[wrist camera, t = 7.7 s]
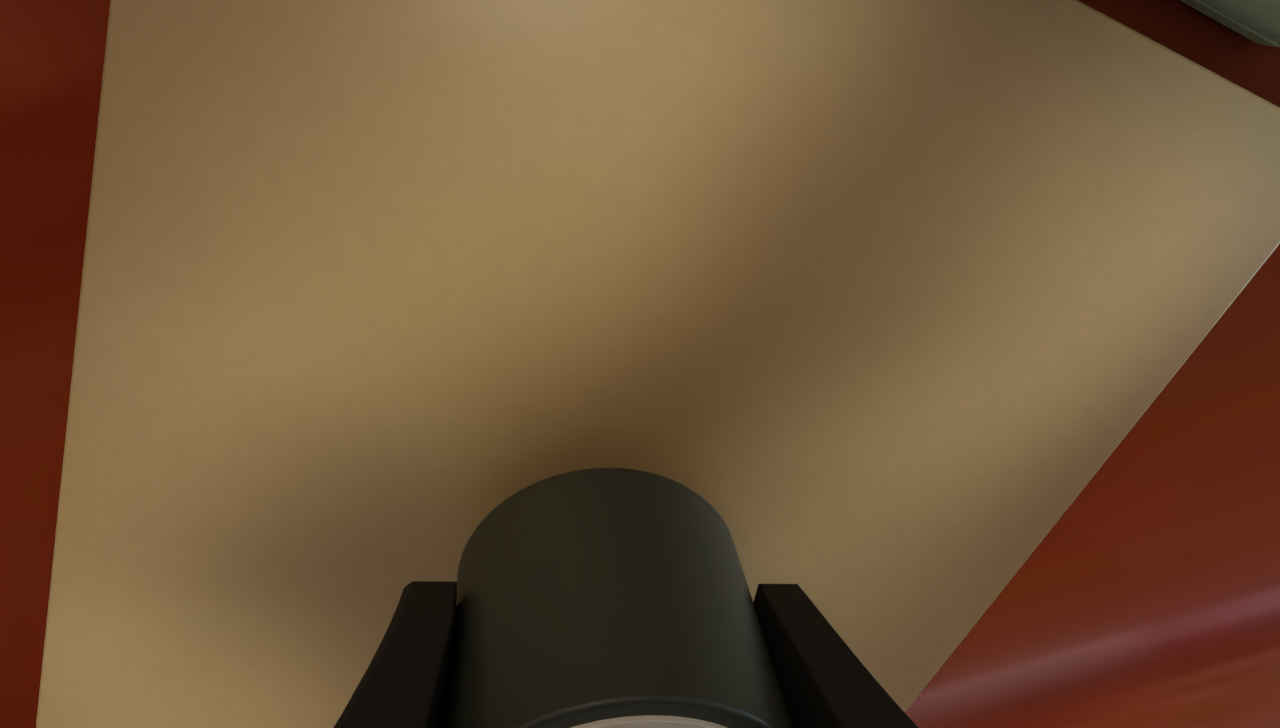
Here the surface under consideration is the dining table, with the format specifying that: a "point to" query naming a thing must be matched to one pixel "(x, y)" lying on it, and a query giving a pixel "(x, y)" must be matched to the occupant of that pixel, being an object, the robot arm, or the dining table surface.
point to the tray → (1245, 17)
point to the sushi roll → (607, 613)
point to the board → (611, 308)
